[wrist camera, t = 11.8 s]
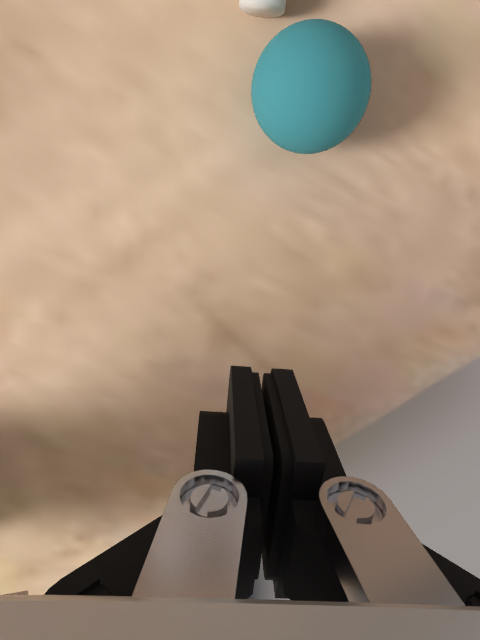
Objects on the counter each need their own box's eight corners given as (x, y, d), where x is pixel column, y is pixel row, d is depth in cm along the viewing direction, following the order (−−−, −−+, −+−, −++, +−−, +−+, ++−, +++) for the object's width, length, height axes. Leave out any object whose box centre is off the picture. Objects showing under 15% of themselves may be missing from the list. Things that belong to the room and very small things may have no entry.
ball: (354, 36, 23) (296, 136, 27) (271, -23, 20) (216, 101, 23) (419, 78, 20) (343, 188, 23) (331, 16, 16) (257, 155, 20)
